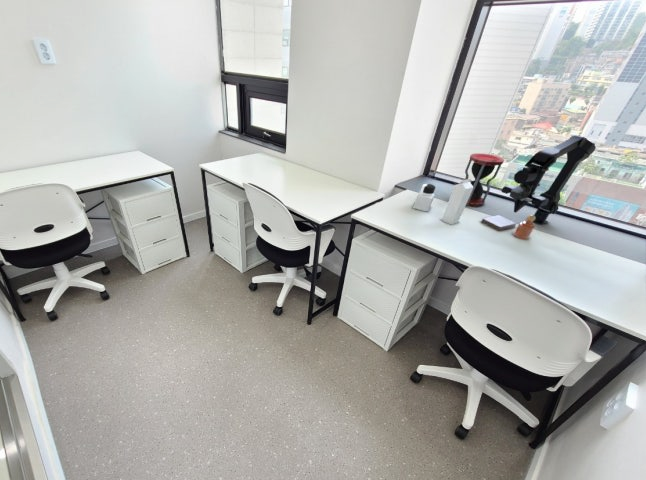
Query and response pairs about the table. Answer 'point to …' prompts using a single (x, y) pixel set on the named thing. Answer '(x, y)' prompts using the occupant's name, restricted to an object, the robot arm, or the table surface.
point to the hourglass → (481, 175)
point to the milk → (457, 202)
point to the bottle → (525, 228)
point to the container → (425, 197)
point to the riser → (498, 222)
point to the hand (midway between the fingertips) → (515, 212)
